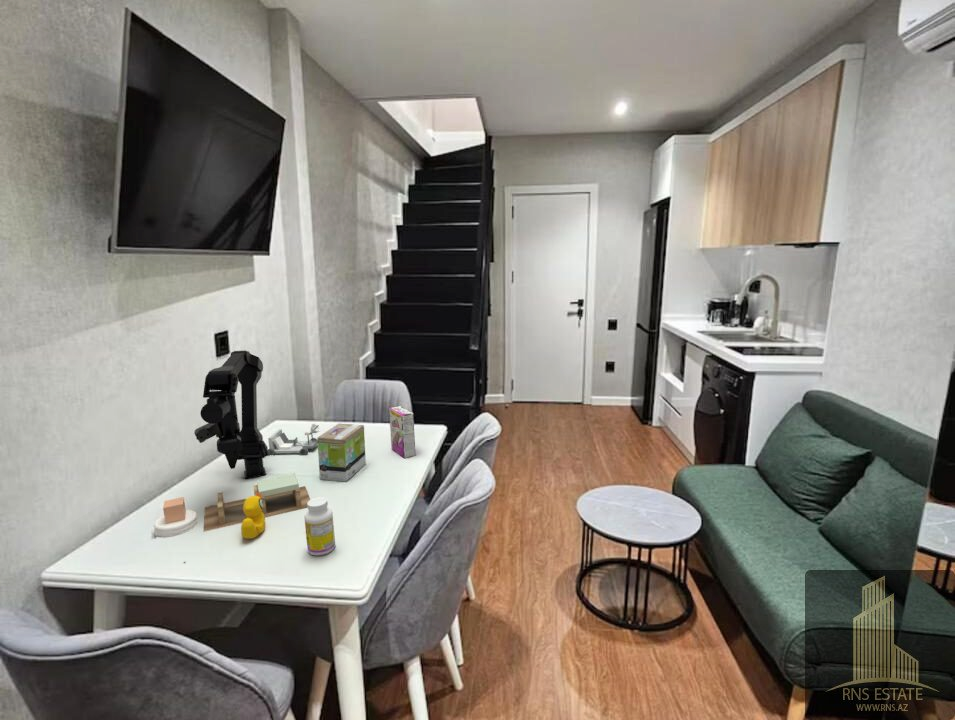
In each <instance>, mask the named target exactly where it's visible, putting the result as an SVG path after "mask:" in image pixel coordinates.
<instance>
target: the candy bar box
mask: <svg viewBox="0 0 955 720" xmlns="http://www.w3.org/2000/svg"><path fill="white" fill-rule="evenodd" d="M388 413H389V427H390V444H391V450H392V451H393V452H395V453H397V454H398V455H399V456H401V457H402V458H403V459H408V458H411V457H415V456H416V455H417V454H416V439H415V437H416V436H415V421H414V420H415V419H414V418H415V417H414V412H412V411H410V410H408V409H406V408H404V407H403V406H401V405H398V406H394V407H389V409H388Z"/></svg>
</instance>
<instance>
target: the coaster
mask: <svg viewBox="0 0 955 720" xmlns="http://www.w3.org/2000/svg"><path fill="white" fill-rule="evenodd" d="M185 510H186V516H185V520H180V521H176V522H171V523H167V524H166V523H165V517H164V514H163V515H161V516H160V517H158V518H157V519H156V520H155V521H154V523H153V527H154V529H153V531H154V535H155V536H156V537H158V536H159V537H163V538H164V537H166V538H167V537H174V536H178V535H181V534H184V533H186V532H189V531H190V530H193V529H194V527H196V525H197V524H198V515H197V512H196V511H194V510H191V509H185Z"/></svg>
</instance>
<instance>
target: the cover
mask: <svg viewBox="0 0 955 720" xmlns="http://www.w3.org/2000/svg"><path fill="white" fill-rule="evenodd" d="M298 481H299V480H298V478H297V475H296V473H295V472H294V473H289V474H283V475H279V476H273V477H269V478H263V479H257V480H256V485H258V491H259V493H260V494H261V497H264V496H268V495H273V494H278V493H282V492H287V491H292V490H297V489H299V487H300V484H299V482H298Z"/></svg>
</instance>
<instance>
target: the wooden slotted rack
mask: <svg viewBox="0 0 955 720" xmlns="http://www.w3.org/2000/svg"><path fill="white" fill-rule="evenodd" d="M253 493H254V495H253V496H256V495H257V493H259V491H258V485H257V484H256V485H255V484H254V485H253ZM246 499H247V498H243V499H238V500H237V499H236V500H232V501H228V502H225V501H224V493H223V491H220V492H217V504H214V505H209V506H205V507H204V515H203V516H204V517H203V533H205V532H208V531H211V530H217V529H221V528H225V527H230V526H235V525H238V524H242V522H243V520H244V519H246V518H247V516H246V515H245V513H244V511H243V505H244V502H245V500H246ZM261 499H262V502H263V509H262V511H261V512H262V513H263V514H264V516H265V518H271V517H273V516H278V515H282V514H287V513H290V512H291V513H292V512H295V511H300V510H304V509H308V508H307V503H308V501H309V500H311V498H310V495H309V493H308V489H307V487H306V486H305V485H304V486H303V485H302V486H299V489H297V490H292V491H287V492H282V493H278V494H273V495H268V496H264V497H261Z"/></svg>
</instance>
